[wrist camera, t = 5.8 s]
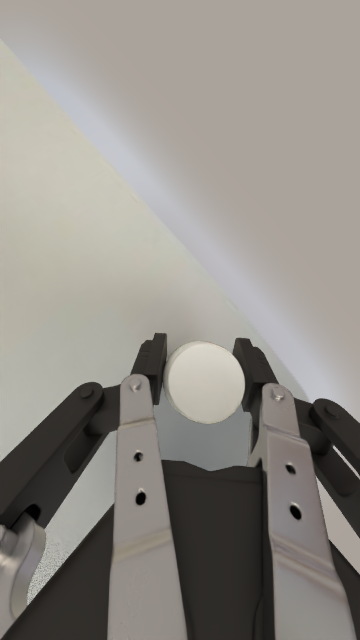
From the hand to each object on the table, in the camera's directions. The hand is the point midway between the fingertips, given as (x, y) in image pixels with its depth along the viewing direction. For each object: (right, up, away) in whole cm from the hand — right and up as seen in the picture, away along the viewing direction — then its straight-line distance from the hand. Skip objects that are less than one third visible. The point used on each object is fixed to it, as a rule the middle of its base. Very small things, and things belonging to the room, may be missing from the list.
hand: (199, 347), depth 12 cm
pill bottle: (0, -3, +4) cm, 5 cm away
